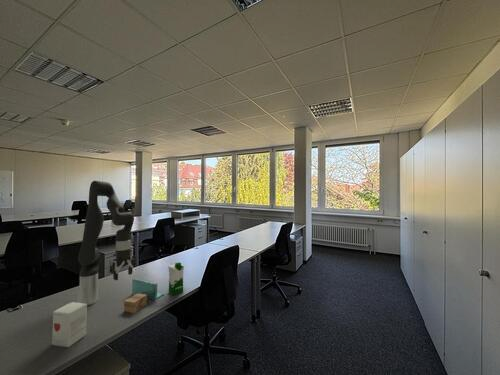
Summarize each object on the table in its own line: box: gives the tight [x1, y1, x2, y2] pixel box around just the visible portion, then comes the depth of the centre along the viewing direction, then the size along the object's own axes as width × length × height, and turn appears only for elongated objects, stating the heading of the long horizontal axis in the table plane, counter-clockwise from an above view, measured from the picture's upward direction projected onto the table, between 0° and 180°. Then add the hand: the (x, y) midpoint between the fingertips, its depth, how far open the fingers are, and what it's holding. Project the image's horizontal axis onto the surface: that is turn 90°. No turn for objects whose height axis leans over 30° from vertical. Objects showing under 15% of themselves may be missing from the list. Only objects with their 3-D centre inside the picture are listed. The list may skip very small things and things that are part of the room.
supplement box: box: [51, 301, 88, 348], centre depth 100 cm, size 9×9×15 cm
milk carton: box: [168, 262, 185, 296], centre depth 149 cm, size 9×9×20 cm
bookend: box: [131, 278, 165, 301], centre depth 144 cm, size 8×20×10 cm, turn 68°
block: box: [123, 293, 148, 314], centre depth 128 cm, size 10×7×6 cm
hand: (123, 277), depth 121 cm, fingers open, 8 cm apart
